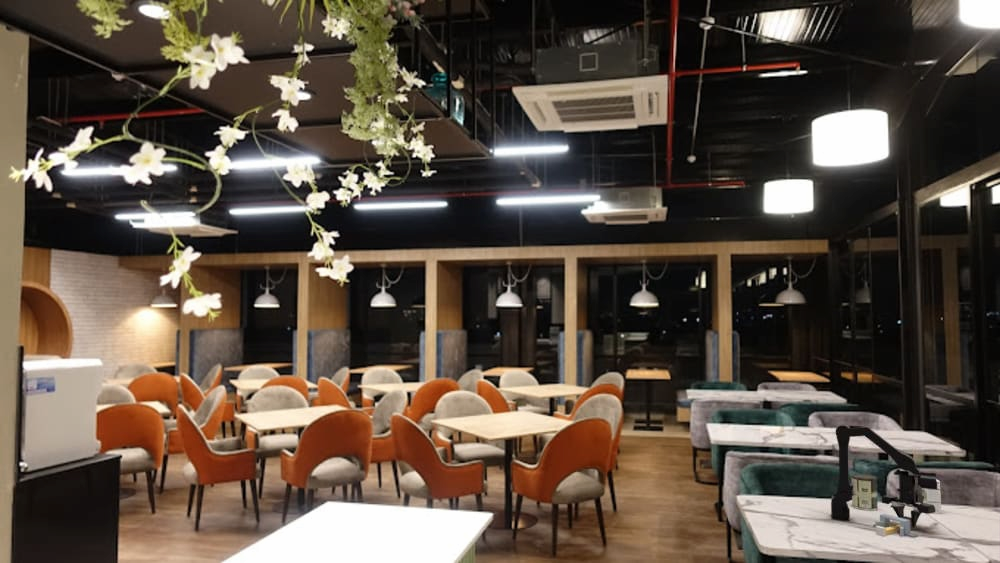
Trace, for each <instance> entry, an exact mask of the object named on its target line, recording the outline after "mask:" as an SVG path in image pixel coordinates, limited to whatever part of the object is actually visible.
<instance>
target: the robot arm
mask: <svg viewBox="0 0 1000 563" xmlns="http://www.w3.org/2000/svg"><path fill="white" fill-rule="evenodd" d="M835 436H836V441H837V445H838V467H839V468H838V469H839V470H838V476H839V478H838V483H837V484H838V485H837V490H836V492H835V493H834V494H833V495H832V496H831V500H830V501H831V502H830V517H831V520H838V521H848V522H849V521H850V518H851V514H850V513H851V512H850V511H851V510H850V507H849V504H848V502H850V501H852V496H854V491H853V485H854V483H852V482H851V481H850V466H849V465H850V462H849V460H850V457H849V451H850V450H849V445H850V440H851V438H852V437H853V438H854V437H865V438H866V439H868V440H869V441H871V442H872V443H873V444H874V445H875V446H876V447H879V448H880V449H881V450H882V451H883V452H884V453H885V454H887V455H888V456H889V457H890V458H891V459H892V461H894V463H895V464H897V466H898V467H900V468H898V467H897V468H896V470H894V471H893V475H895V476H898V488H897V492H899V493H898V494H899V495H898V496H899V497H898V496H896V495H891V494H886V495H883V496H882V497H881V500H880V501H881V503H882V504H885V505H889V506H890V508H892V509H893V511H894V512H895V514H896V517H899V518H900V517H904V516H905V507H908V508H909V507H910V508H913V509H912V510H910V517H911V520H912V526H913V527H915V526H916V527H917V523H918V520H919V518H920V516H921V515H922V514H926V515H929V514H932V513H934V512H935V507H934V505H931V504H927V503H923V501H924V496H923V495H922V493H921V494H920V493H919V491H918V489H917V488H916V484H917V486H919V487H920V489H922V488H923V489H932V490H937V481H936V479H937V473H936V472H934V471H920V468H918V467H917V465H916V463H915V459H914V457H912V456H911V455H910V454H908V453H906V452H904V451H902V450H900V449H898V448H896V447H895V446H894V445H892V444H891V443H890V442H888V440H886V439H884V438H883V437H882V436H881V435H880V434H878V433H877V432H876V431H874V430H873V429H871V427H870V426H867V425H848V424H846V423H840V424H838V425H837V427H836V428H835Z"/></svg>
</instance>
